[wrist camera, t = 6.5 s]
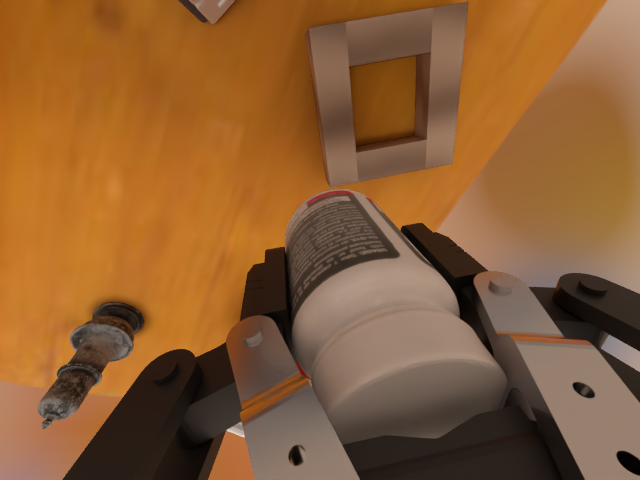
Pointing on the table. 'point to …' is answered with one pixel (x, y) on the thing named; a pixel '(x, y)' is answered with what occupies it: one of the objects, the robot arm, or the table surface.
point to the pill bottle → (380, 326)
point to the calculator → (207, 8)
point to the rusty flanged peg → (91, 358)
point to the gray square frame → (431, 89)
